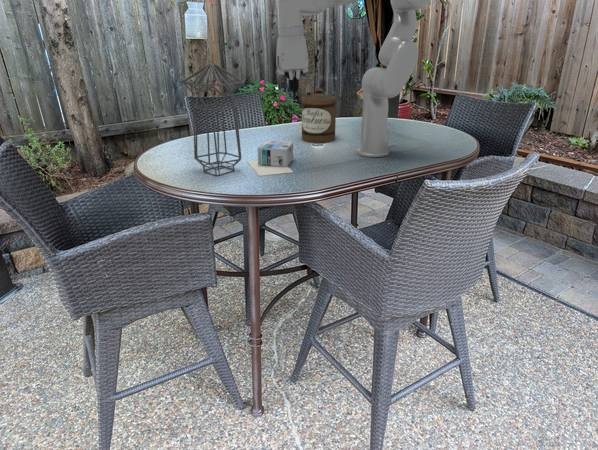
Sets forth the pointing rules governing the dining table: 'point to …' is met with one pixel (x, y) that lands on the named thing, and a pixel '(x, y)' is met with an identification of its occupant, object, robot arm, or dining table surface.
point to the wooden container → (318, 117)
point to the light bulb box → (275, 153)
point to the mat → (268, 169)
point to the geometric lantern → (219, 73)
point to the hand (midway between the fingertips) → (294, 91)
